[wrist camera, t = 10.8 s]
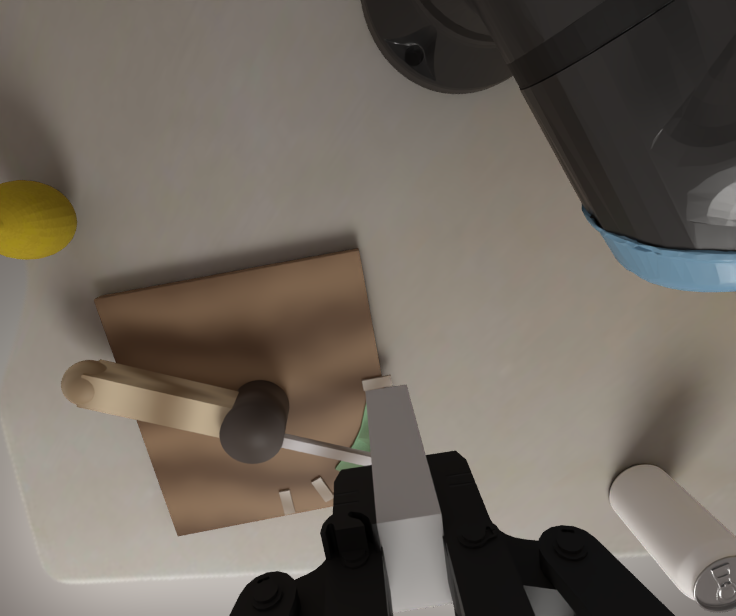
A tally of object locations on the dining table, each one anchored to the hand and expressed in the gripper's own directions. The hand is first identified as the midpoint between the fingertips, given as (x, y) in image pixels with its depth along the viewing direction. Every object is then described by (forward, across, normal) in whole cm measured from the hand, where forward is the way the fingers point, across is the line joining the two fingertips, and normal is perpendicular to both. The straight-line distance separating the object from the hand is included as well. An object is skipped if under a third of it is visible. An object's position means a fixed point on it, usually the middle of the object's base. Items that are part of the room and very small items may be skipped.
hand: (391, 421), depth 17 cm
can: (+25, +24, -28) cm, 45 cm away
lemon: (+25, -23, +8) cm, 35 cm away
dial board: (+25, -11, -10) cm, 29 cm away
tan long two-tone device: (+23, -12, -10) cm, 28 cm away
